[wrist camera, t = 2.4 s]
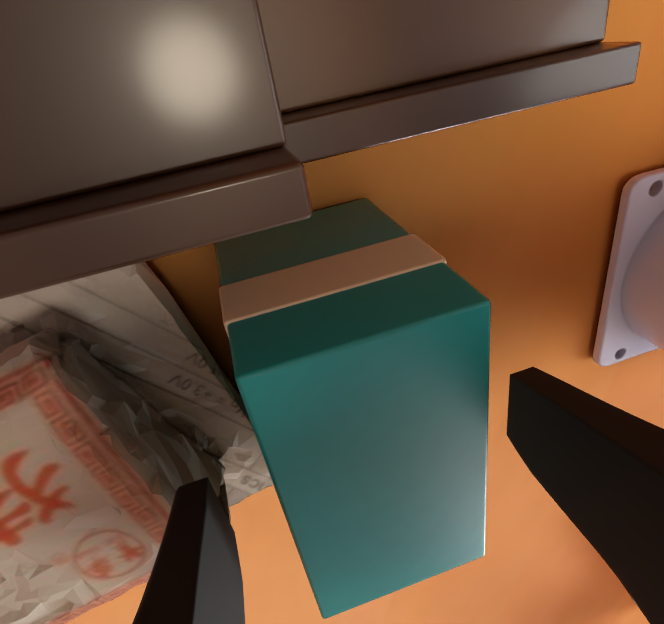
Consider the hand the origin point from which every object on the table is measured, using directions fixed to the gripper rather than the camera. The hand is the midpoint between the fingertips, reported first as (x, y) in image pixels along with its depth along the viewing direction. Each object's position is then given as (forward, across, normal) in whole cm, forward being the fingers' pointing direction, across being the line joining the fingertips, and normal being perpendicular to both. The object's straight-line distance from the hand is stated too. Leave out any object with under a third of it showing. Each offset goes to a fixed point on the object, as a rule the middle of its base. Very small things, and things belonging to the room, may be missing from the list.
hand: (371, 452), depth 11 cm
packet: (+5, 0, 0) cm, 5 cm away
